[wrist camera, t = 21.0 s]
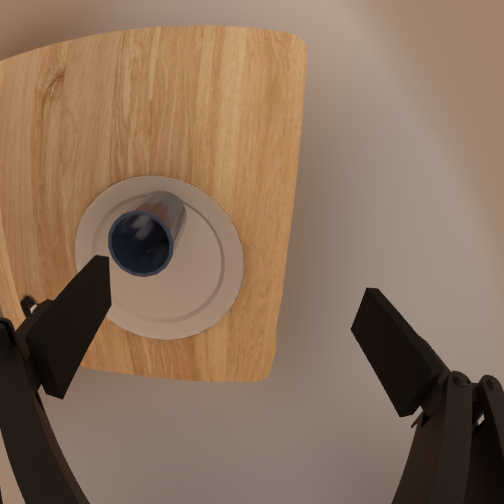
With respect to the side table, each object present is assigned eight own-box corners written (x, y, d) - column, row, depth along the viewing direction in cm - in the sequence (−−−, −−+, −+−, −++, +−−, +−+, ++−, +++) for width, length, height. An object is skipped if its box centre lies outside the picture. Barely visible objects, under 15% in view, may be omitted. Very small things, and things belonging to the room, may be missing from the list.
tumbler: (189, 194, 37) (176, 215, 26) (184, 244, 39) (170, 281, 29) (139, 188, 36) (108, 207, 25) (136, 237, 38) (108, 271, 28)
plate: (230, 340, 48) (231, 348, 46) (86, 319, 44) (82, 325, 42) (257, 186, 39) (258, 188, 37) (80, 168, 35) (73, 169, 33)
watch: (55, 326, 44) (47, 337, 41) (41, 330, 44) (33, 341, 41) (34, 291, 41) (24, 301, 38) (20, 297, 42) (11, 307, 38)
